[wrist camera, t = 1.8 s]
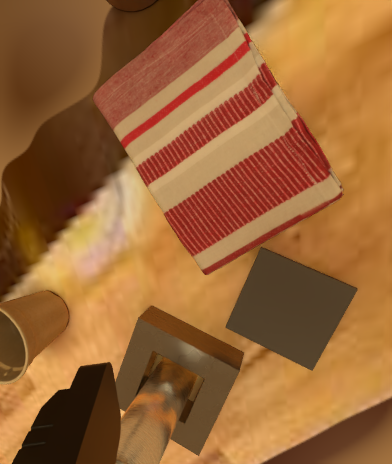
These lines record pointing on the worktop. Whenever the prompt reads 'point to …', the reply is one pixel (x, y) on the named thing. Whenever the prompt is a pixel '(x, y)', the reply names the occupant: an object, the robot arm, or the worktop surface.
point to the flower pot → (28, 331)
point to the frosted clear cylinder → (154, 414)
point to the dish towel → (216, 137)
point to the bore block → (188, 356)
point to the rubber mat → (290, 308)
